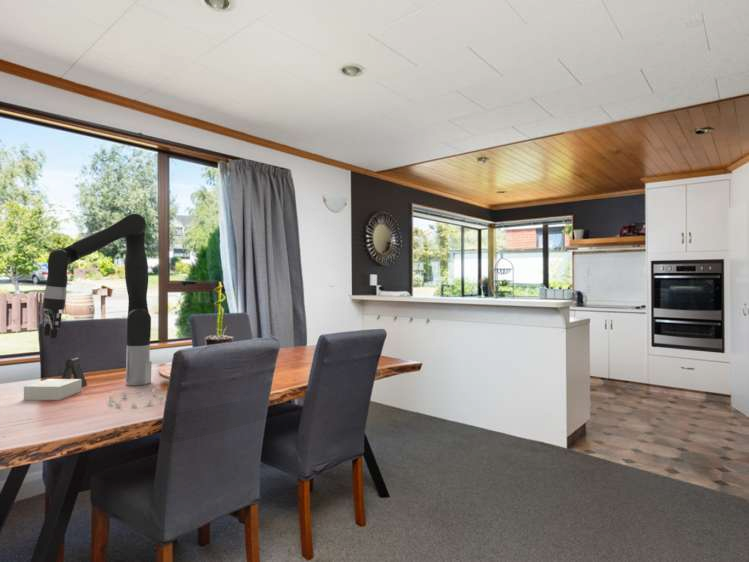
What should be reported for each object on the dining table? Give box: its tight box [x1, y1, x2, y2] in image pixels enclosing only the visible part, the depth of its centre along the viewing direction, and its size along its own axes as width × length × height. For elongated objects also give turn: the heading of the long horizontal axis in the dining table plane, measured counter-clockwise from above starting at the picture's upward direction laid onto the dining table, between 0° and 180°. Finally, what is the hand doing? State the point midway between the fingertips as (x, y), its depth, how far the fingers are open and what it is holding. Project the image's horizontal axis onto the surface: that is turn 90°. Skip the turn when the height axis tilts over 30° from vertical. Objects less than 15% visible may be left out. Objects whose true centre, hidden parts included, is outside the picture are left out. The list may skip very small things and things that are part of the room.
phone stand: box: [60, 357, 88, 388], centre depth 194 cm, size 9×6×12 cm, turn 101°
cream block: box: [23, 378, 82, 401], centre depth 179 cm, size 13×14×5 cm
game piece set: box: [106, 388, 164, 409], centre depth 172 cm, size 19×20×4 cm
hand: (49, 336), depth 187 cm, fingers open, 8 cm apart
